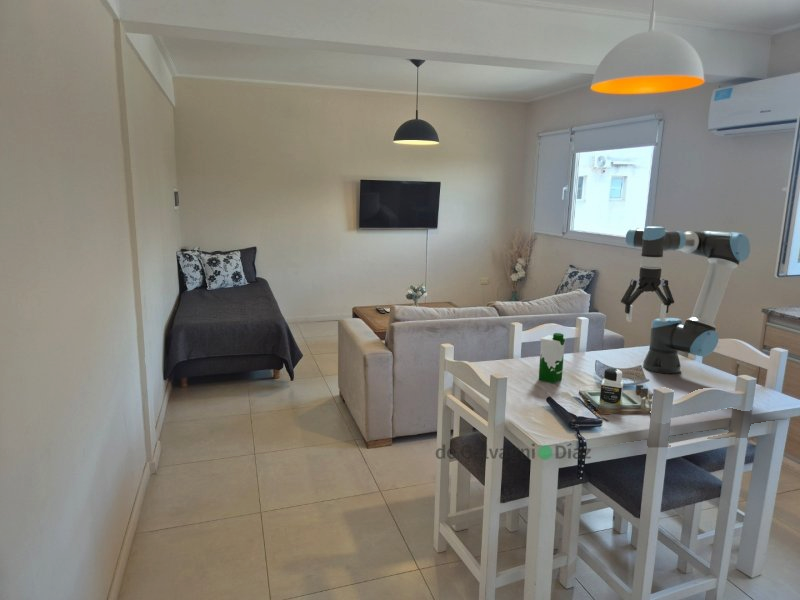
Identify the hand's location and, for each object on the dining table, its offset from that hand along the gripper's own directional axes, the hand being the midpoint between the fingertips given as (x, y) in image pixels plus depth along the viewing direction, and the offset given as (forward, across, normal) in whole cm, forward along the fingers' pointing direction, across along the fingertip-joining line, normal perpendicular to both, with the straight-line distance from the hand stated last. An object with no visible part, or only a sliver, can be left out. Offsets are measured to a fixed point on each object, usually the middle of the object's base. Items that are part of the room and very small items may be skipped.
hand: (645, 321), depth 211 cm
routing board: (+28, +12, +14) cm, 33 cm away
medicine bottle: (+27, +19, +15) cm, 36 cm away
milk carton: (+28, +32, -12) cm, 44 cm away
